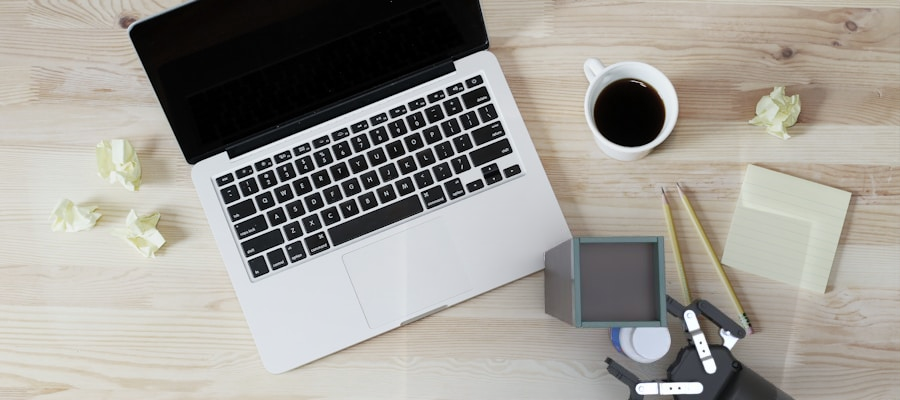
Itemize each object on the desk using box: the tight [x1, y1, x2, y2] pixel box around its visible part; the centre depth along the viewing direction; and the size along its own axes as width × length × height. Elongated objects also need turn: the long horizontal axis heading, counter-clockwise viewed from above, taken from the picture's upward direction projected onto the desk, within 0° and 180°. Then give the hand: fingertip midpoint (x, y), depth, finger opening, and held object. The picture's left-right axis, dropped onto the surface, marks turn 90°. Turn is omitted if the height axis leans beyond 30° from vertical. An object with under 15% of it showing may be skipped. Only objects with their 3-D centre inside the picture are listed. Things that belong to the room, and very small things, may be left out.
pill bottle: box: [608, 326, 672, 364], centre depth 82 cm, size 6×5×10 cm
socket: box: [570, 235, 668, 329], centre depth 60 cm, size 7×7×2 cm
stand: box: [543, 238, 655, 327], centre depth 74 cm, size 7×7×27 cm
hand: (628, 327), depth 81 cm, fingers open, 8 cm apart
